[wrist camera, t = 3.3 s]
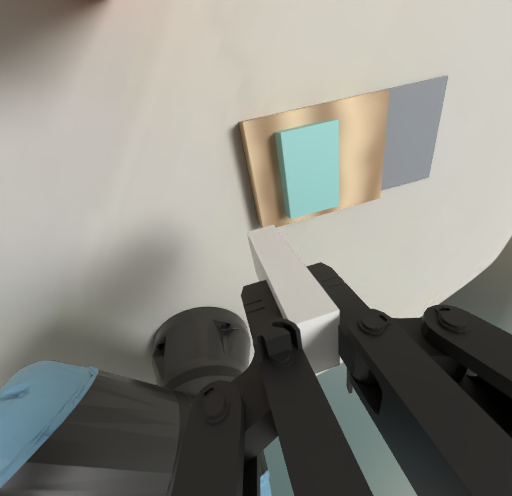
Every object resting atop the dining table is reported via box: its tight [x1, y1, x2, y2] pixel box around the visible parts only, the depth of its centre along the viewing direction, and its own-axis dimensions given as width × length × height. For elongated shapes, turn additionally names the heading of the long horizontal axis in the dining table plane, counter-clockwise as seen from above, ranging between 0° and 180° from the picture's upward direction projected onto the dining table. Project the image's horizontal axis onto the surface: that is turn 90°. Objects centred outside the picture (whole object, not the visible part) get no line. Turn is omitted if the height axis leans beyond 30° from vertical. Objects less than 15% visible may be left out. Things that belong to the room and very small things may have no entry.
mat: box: [380, 76, 448, 190], centre depth 30 cm, size 9×12×1 cm
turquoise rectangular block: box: [274, 119, 339, 219], centre depth 25 cm, size 6×9×2 cm, turn 12°
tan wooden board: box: [239, 89, 390, 228], centre depth 28 cm, size 16×12×2 cm
